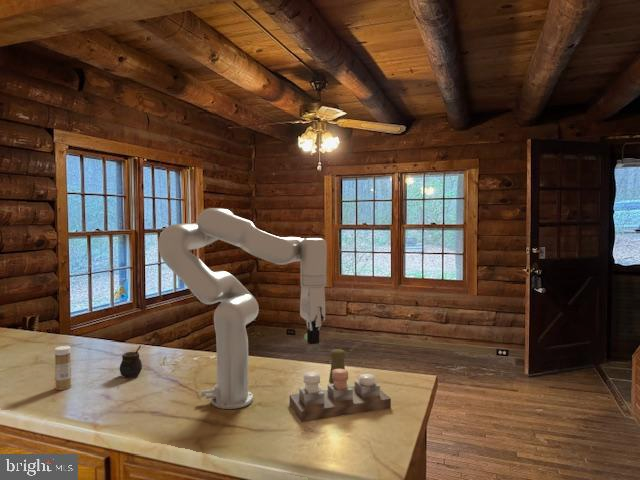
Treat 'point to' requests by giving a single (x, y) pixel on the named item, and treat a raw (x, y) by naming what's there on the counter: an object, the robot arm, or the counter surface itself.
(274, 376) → the counter surface
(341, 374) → the button middle
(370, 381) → the button far
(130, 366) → the mate gourd
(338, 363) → the cork
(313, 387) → the button near
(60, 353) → the sprinkles bottle
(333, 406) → the button board
